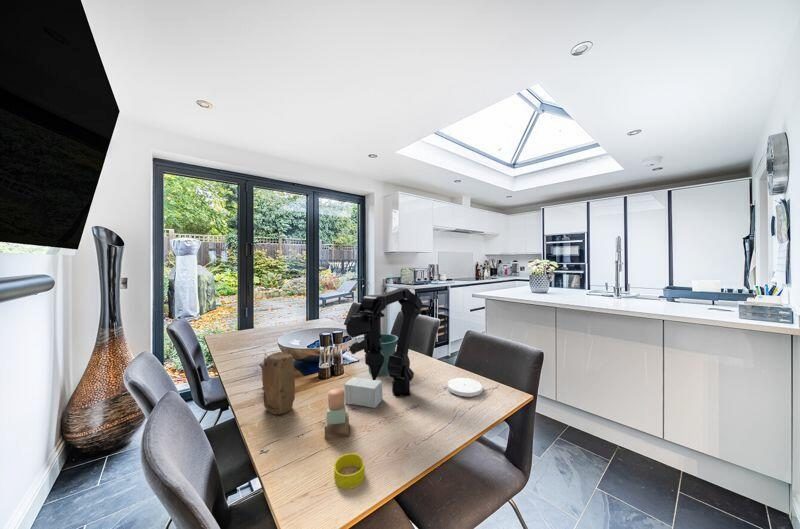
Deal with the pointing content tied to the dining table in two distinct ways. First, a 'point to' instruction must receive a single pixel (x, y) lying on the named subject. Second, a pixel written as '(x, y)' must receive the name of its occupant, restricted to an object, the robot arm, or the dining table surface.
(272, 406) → the block
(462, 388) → the plastic lid
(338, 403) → the brown oval piece
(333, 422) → the top block
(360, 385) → the supplement box
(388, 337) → the flower pot
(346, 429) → the bottom block
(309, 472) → the dining table surface
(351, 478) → the bracelet
